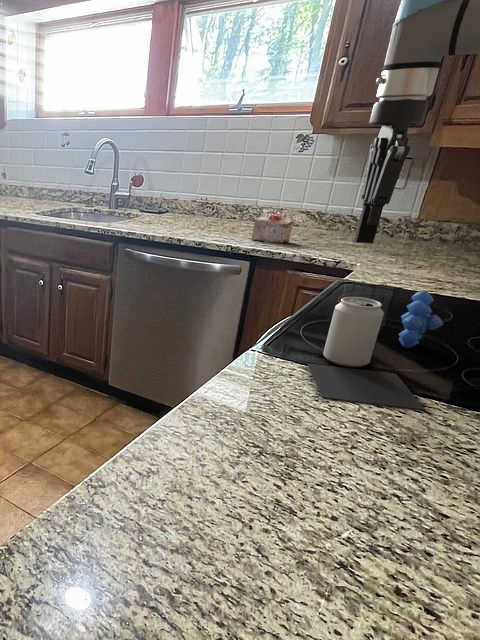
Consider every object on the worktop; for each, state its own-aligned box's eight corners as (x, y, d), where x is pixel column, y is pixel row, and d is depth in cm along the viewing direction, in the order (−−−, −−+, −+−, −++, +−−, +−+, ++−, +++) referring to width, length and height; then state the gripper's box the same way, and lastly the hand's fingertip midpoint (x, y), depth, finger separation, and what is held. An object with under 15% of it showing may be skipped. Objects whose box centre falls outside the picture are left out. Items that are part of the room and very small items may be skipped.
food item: (293, 242, 201) (298, 215, 197) (284, 245, 196) (289, 218, 192) (257, 237, 210) (262, 212, 206) (248, 240, 205) (252, 214, 202)
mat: (395, 375, 93) (395, 373, 93) (424, 412, 81) (425, 409, 81) (306, 365, 98) (307, 363, 97) (322, 399, 85) (322, 397, 85)
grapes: (428, 362, 98) (450, 300, 93) (385, 352, 102) (404, 293, 98) (438, 345, 106) (458, 287, 101) (397, 336, 110) (415, 281, 105)
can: (360, 373, 94) (379, 310, 89) (315, 361, 99) (331, 300, 94) (374, 362, 98) (392, 300, 94) (330, 350, 104) (345, 292, 99)
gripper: (365, 101, 94) (332, 234, 103) (387, 98, 82) (348, 248, 92) (414, 100, 91) (376, 236, 101) (444, 97, 80) (398, 250, 90)
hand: (363, 242), depth 96 cm, fingers closed
